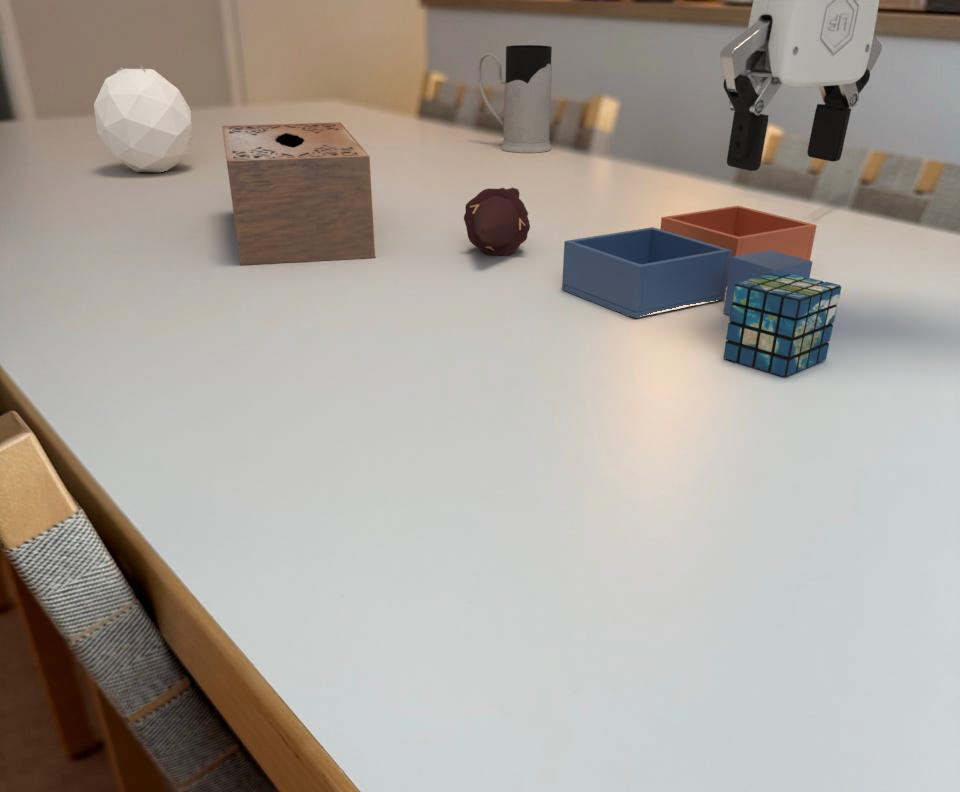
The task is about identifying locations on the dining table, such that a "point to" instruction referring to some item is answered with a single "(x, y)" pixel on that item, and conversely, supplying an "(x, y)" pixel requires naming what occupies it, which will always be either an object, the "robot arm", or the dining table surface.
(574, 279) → the blue bin
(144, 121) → the geodesic sphere
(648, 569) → the dining table surface
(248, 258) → the tissue box cover
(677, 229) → the terracotta bin
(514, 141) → the glass holder
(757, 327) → the puzzle
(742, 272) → the blue block
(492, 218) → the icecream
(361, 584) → the dining table surface
